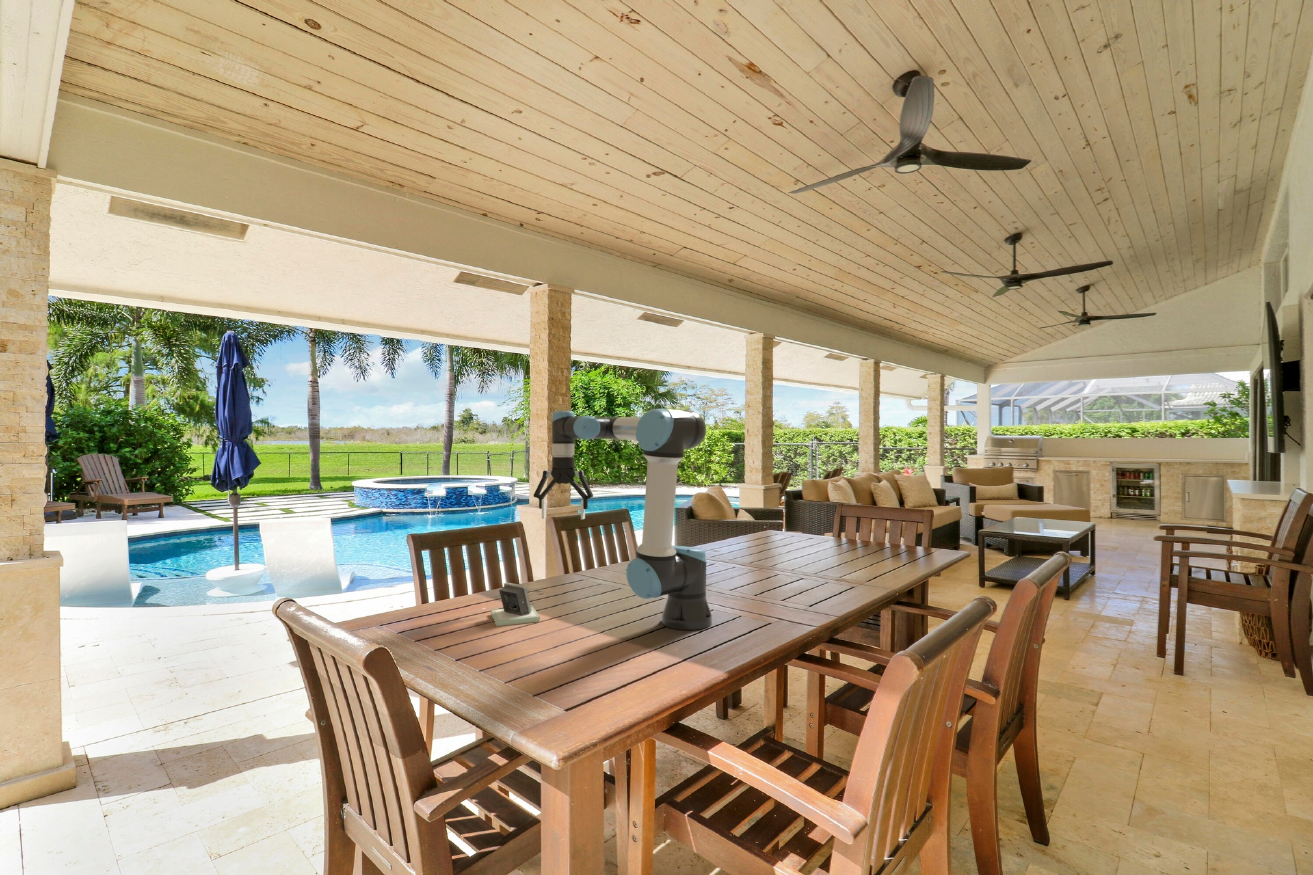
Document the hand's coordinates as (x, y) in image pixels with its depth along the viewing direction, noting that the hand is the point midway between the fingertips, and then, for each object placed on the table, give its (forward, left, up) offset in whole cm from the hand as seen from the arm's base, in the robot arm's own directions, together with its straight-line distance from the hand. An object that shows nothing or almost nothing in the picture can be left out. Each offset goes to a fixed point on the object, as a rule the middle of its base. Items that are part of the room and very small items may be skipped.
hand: (563, 518), depth 211 cm
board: (-12, +18, -29) cm, 36 cm away
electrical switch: (-12, +18, -27) cm, 35 cm away
